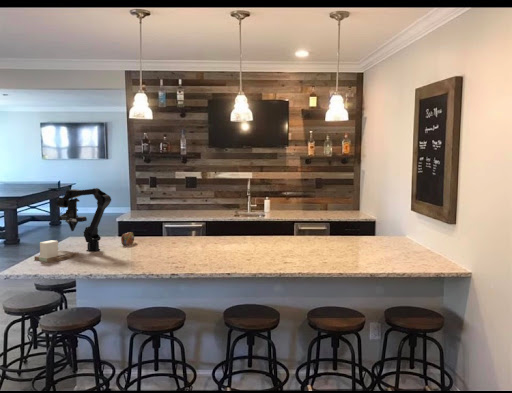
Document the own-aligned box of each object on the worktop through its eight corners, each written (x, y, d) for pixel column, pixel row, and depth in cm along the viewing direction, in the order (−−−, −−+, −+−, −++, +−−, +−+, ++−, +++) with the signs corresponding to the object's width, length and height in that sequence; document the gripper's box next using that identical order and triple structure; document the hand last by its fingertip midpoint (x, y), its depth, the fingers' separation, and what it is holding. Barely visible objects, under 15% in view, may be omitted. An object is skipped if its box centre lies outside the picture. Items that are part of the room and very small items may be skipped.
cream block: (51, 254, 268) (51, 240, 268) (58, 255, 266) (58, 241, 265) (40, 257, 261) (39, 242, 260) (47, 258, 259) (46, 243, 258)
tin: (124, 246, 304) (124, 234, 303) (120, 246, 304) (120, 234, 304) (134, 242, 318) (134, 231, 318) (130, 242, 319) (130, 231, 318)
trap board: (61, 253, 281) (61, 250, 281) (78, 256, 274) (78, 252, 274) (34, 259, 263) (34, 256, 263) (51, 262, 257) (51, 259, 257)
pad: (47, 258, 267) (47, 255, 267) (55, 259, 264) (55, 256, 264) (39, 260, 262) (38, 257, 261) (47, 261, 258) (46, 258, 258)
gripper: (51, 208, 287) (52, 232, 288) (75, 210, 282) (76, 234, 283) (63, 206, 297) (64, 229, 299) (87, 208, 292) (87, 231, 294)
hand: (72, 231), depth 293 cm, fingers closed
